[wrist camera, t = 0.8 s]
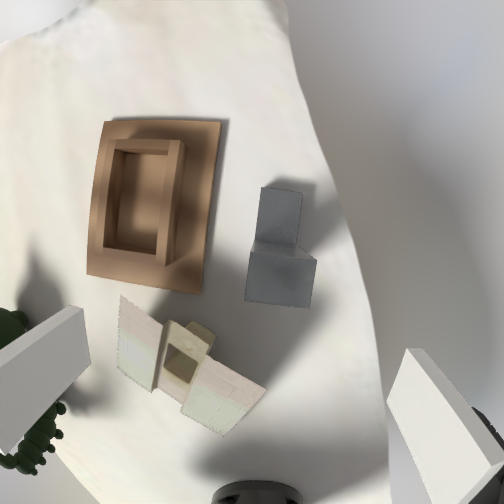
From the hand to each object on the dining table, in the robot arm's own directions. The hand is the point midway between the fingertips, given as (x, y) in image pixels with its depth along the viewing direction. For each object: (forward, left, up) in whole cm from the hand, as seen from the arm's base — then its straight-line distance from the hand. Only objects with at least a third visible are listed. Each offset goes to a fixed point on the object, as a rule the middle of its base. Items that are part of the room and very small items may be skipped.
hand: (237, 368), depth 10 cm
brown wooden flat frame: (+6, +12, -21) cm, 25 cm away
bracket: (+5, -2, -21) cm, 21 cm away
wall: (-12, +6, -21) cm, 25 cm away
